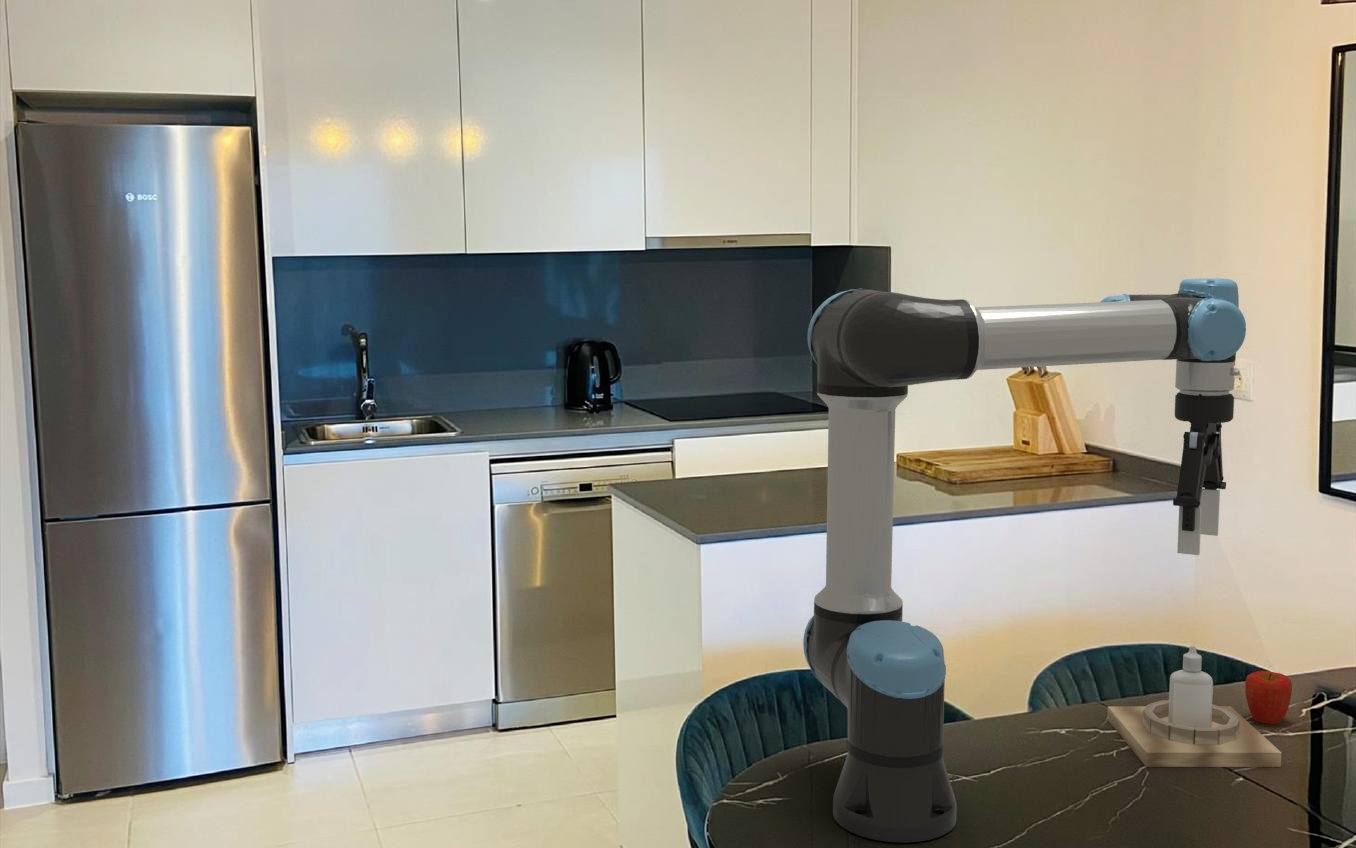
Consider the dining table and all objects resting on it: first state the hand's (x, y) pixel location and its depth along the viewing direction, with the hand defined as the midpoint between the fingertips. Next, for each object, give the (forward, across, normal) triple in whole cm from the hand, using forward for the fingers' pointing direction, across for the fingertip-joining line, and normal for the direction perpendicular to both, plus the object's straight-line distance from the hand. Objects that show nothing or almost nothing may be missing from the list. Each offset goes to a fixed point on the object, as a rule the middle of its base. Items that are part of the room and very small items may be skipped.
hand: (1198, 544), depth 183 cm
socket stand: (+29, 0, 0) cm, 29 cm away
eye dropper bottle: (+27, 0, 0) cm, 27 cm away
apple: (+29, +14, -8) cm, 33 cm away
